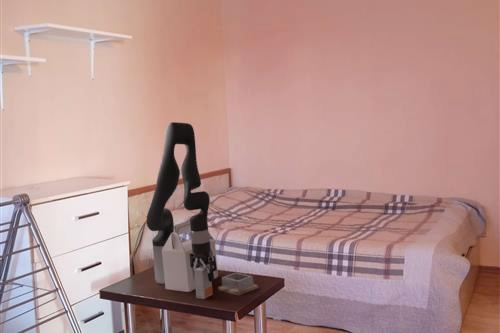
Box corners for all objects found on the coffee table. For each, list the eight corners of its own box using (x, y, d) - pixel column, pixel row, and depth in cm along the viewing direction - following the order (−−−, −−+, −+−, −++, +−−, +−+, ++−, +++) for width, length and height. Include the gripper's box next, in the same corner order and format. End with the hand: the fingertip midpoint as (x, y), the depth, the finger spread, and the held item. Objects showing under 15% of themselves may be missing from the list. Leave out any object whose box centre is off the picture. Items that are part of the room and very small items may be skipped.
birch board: (218, 289, 218) (218, 286, 218) (237, 282, 225) (237, 279, 225) (238, 295, 208) (238, 292, 208) (258, 288, 216) (258, 285, 216)
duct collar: (222, 286, 218) (221, 277, 217) (237, 281, 224) (236, 272, 223) (238, 291, 210) (238, 281, 210) (253, 285, 216) (252, 276, 216)
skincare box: (204, 299, 207) (201, 270, 206) (196, 298, 210) (193, 269, 209) (213, 294, 212) (210, 266, 211) (205, 293, 215) (202, 265, 214)
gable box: (188, 292, 217) (182, 227, 215) (164, 289, 224) (158, 226, 222) (218, 276, 236) (213, 216, 234) (195, 274, 243) (190, 216, 241)
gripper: (219, 240, 207) (222, 279, 208) (197, 237, 217) (200, 274, 218) (204, 244, 201) (208, 285, 203) (182, 241, 212) (186, 279, 213)
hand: (204, 279), depth 210 cm, fingers open, 8 cm apart
